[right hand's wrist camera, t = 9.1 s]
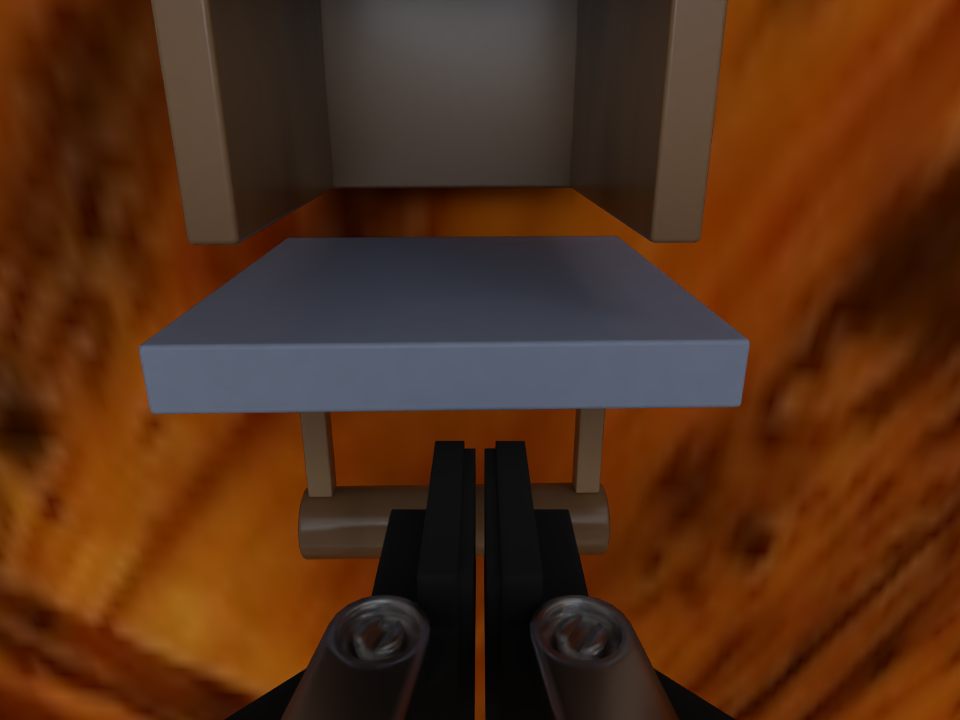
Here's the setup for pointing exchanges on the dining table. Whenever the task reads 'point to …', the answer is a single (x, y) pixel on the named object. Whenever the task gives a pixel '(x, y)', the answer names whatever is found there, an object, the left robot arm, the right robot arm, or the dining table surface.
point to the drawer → (442, 260)
